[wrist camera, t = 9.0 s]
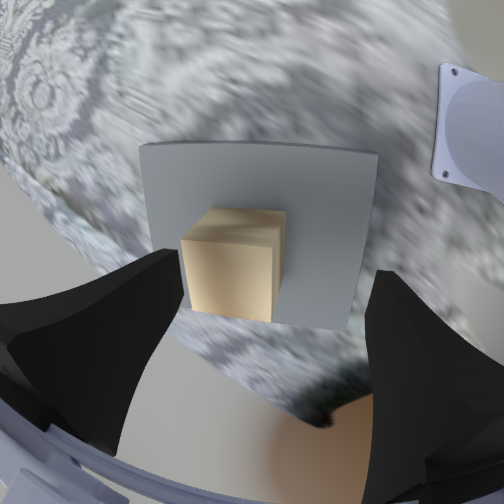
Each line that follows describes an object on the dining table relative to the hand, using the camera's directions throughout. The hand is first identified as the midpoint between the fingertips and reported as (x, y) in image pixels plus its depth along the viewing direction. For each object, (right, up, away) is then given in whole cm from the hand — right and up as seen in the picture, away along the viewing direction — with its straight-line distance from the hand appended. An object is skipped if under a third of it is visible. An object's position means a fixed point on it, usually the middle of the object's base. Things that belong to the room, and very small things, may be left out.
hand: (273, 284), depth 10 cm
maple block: (-1, +2, +10) cm, 10 cm away
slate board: (-1, +2, +11) cm, 12 cm away
